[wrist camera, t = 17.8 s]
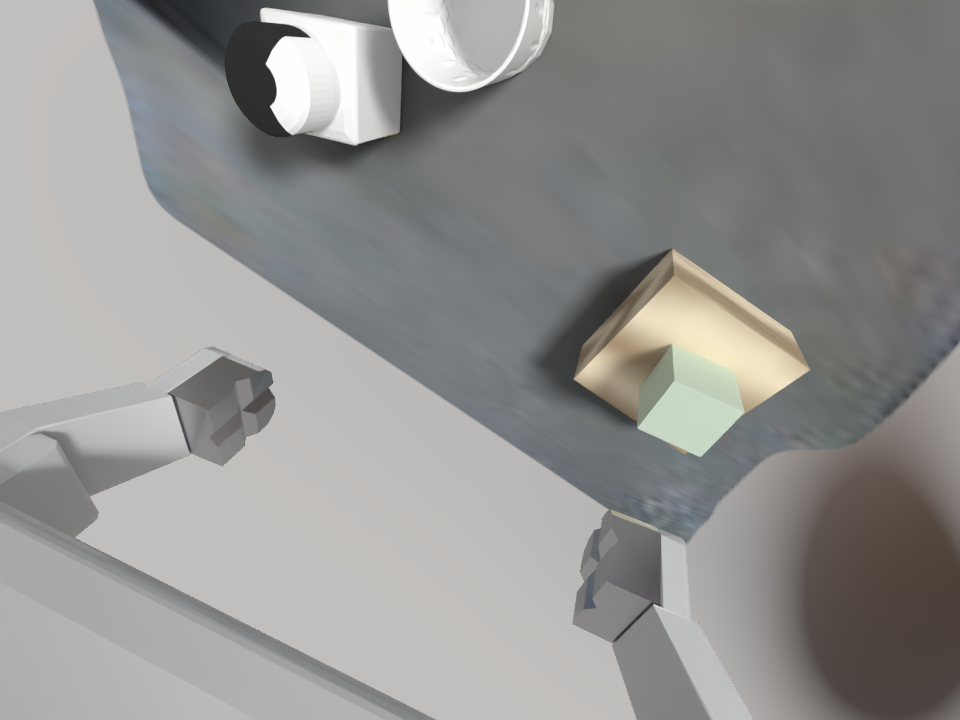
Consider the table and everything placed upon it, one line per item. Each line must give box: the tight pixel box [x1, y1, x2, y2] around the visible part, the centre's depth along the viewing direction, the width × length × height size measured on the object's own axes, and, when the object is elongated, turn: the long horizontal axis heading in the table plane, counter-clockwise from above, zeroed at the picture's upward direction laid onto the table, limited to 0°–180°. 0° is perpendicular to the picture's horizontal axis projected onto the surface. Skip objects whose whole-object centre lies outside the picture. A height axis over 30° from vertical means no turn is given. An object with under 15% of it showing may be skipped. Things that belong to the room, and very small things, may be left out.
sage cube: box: [637, 344, 745, 457], centre depth 33 cm, size 5×5×5 cm
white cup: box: [388, 0, 554, 92], centre depth 27 cm, size 8×8×10 cm
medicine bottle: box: [225, 8, 402, 146], centre depth 31 cm, size 7×7×12 cm
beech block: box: [574, 249, 810, 454], centre depth 37 cm, size 12×12×6 cm
